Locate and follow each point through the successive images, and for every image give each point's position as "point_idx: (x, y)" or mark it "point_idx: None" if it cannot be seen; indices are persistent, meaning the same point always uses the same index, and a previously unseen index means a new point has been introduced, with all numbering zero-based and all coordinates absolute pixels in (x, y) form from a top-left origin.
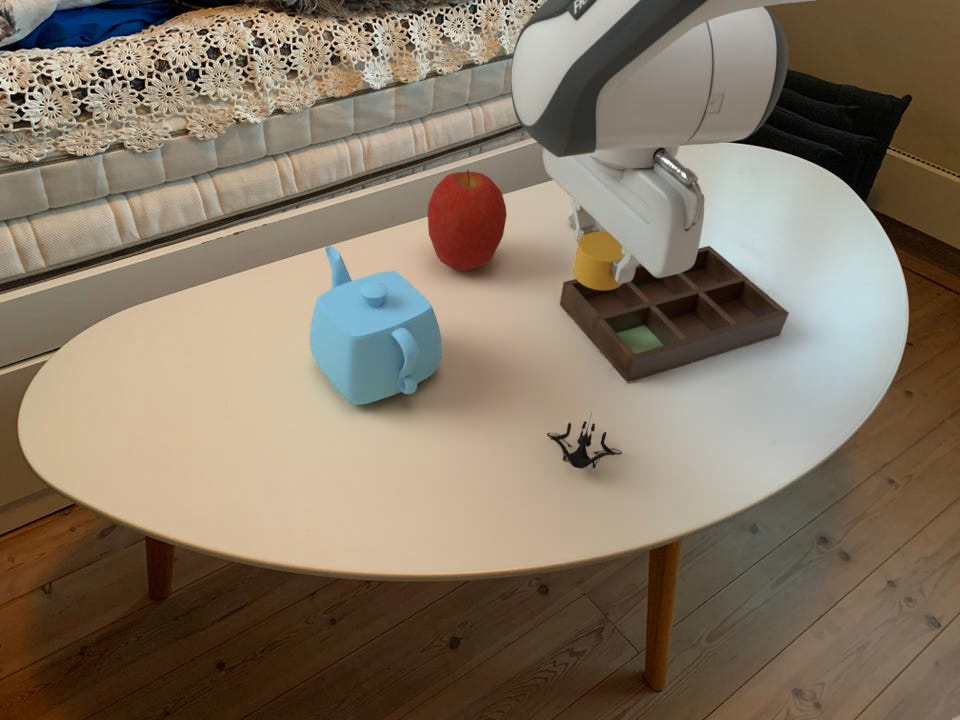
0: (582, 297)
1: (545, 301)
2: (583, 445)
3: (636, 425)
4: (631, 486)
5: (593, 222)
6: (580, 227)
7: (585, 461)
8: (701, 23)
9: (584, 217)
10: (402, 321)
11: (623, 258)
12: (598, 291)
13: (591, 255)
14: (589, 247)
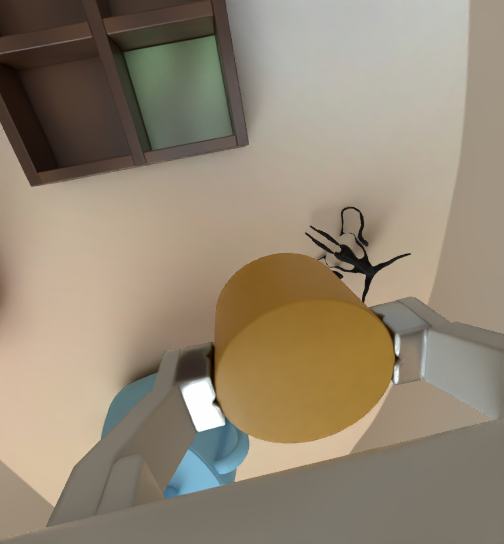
0: (79, 167)
1: (51, 202)
2: (371, 271)
3: (318, 167)
4: (391, 211)
5: (174, 400)
6: (195, 434)
7: (380, 269)
8: None
9: (168, 450)
10: (209, 472)
11: (494, 418)
12: (27, 106)
13: (343, 425)
14: (302, 421)
